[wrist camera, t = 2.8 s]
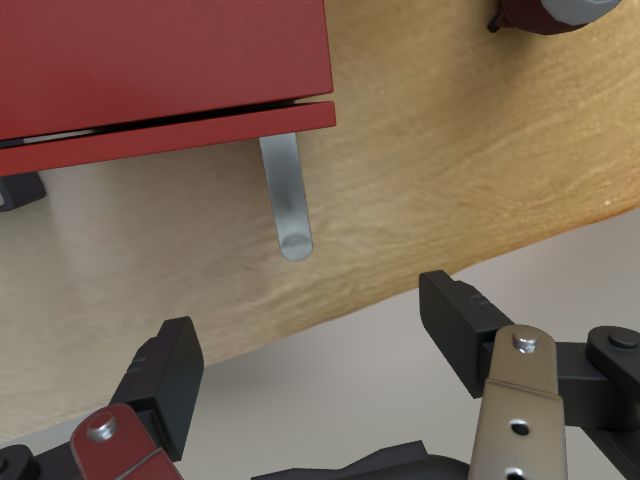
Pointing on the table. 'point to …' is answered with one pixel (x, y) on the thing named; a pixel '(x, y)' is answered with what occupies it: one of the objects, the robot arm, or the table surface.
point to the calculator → (19, 186)
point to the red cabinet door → (265, 124)
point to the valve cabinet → (153, 60)
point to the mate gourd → (549, 15)
